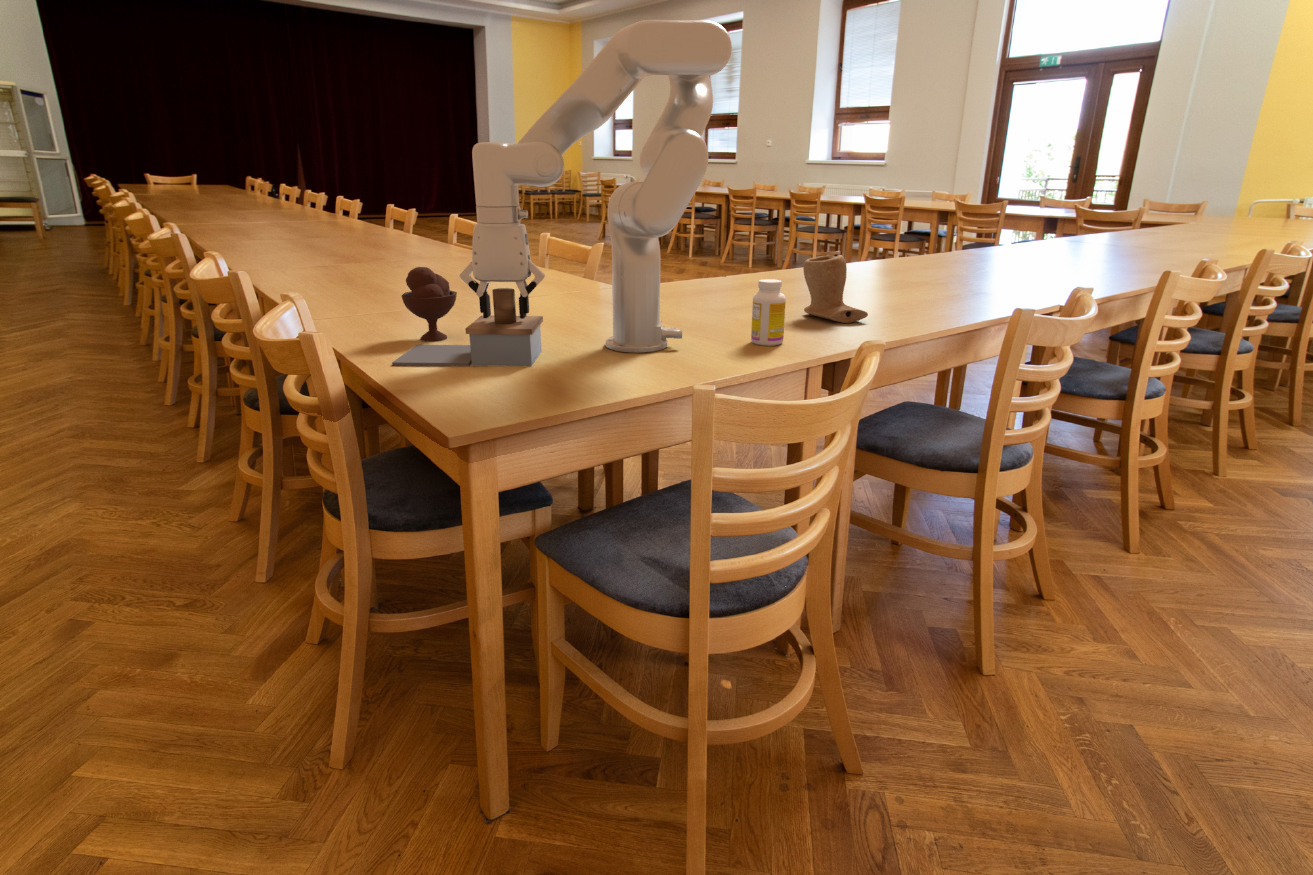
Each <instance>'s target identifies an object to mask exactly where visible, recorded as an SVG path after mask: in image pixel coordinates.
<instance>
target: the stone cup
mask: <svg viewBox="0 0 1313 875" xmlns="http://www.w3.org/2000/svg"><path fill="white" fill-rule="evenodd" d="M803 275H804V280H805V283H806V285H807V288H808V291H809V294H810V305H808V306H806V307H804V309H803V311H804V313H806V314H809V315H810V316H815V317H818V318H821V319H826V320H828V321H829V320H830V321H833V322H836V323H837V322H838V323H844V324H850V323H854V322H858V321H861V320H864V319H865V318H867V317H868V316H869V314H868V312H867V311H865V310H862V309H860V308H856V307H852V306H850V305H846V304H845V302H844V290H845V284H846V281H847V262H846V259H845V257H844V256H843V255H842V254H837V256H834V255H831V254H829V255H827V254H826V255H821V256H816V257H811V258H807V259H805V260H804V264H803Z"/></svg>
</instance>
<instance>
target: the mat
mask: <svg viewBox="0 0 1313 875" xmlns="http://www.w3.org/2000/svg"><path fill="white" fill-rule="evenodd" d="M391 363H392V364H391V365H392V366H396V367H398V366H399V367H400V366H403V367H407V366H408V367H409V366H411V367H470V365H472V360H471V348H470V344H416V345H414V346H413V347H412V348H410V349H409V350H407V351H406V352H404V353H402V355H400V356H399V357H397V358H396V359H395V360H393V361H392V362H391Z"/></svg>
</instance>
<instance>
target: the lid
mask: <svg viewBox="0 0 1313 875" xmlns="http://www.w3.org/2000/svg"><path fill="white" fill-rule="evenodd" d="M492 304H493V305H492V306H493V315H490V316H489V317H488V318H483V315H480V316H479V317H478V318H477V319H475V320H474V321H473V322H472V323H470V324H469V325H468V326H467V327H465V335H469V334H514V335H532V334H533V333H534V332H535V331H536V329H537V328H538V327H539V326H540V327H541V324H542V323H543V322H544V316H543V315H526V317H525V318H524V319H521V318H520V315H517V312H516V310H517V309H516V294H515V289H514V288H512V287H511V288H510V287H501V288H500V287H499V288H494V289H492Z"/></svg>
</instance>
